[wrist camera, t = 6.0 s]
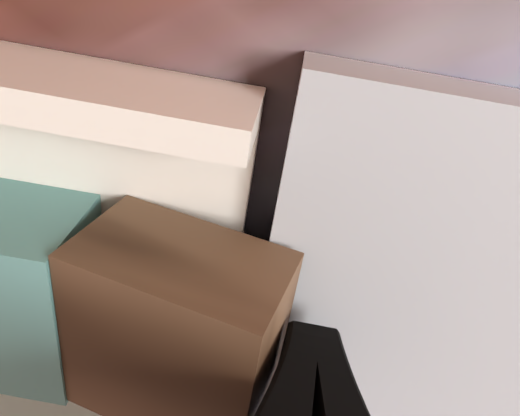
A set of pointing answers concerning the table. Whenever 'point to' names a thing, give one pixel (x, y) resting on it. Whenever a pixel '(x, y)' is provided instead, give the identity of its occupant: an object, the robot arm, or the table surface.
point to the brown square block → (170, 313)
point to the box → (125, 142)
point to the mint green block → (34, 283)
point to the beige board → (408, 232)
